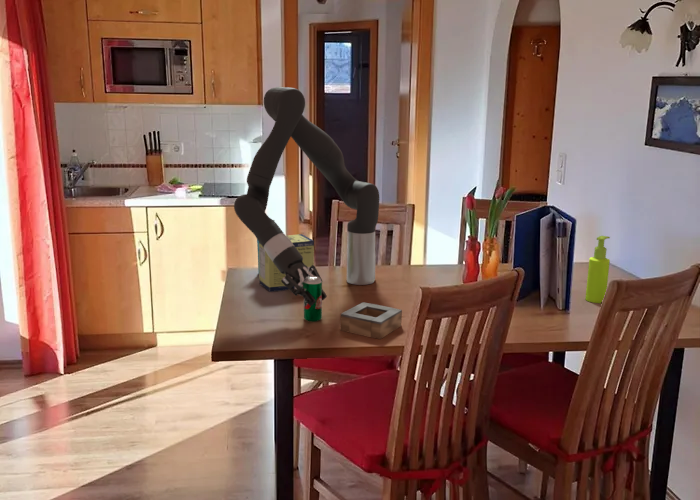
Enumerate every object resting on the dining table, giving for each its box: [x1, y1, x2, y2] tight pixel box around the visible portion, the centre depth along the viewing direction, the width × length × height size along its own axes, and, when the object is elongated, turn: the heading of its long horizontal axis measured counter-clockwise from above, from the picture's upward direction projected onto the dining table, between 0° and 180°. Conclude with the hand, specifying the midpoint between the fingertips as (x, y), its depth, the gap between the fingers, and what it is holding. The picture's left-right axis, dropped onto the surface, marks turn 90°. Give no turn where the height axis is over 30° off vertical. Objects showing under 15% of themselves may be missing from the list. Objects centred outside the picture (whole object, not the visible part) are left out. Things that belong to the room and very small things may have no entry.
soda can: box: [303, 276, 323, 323], centre depth 189 cm, size 5×5×12 cm
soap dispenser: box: [584, 235, 611, 304], centre depth 209 cm, size 6×7×20 cm
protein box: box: [258, 233, 315, 293], centre depth 221 cm, size 10×16×16 cm
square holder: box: [339, 301, 403, 340], centre depth 184 cm, size 12×12×5 cm
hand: (318, 301), depth 188 cm, fingers closed on soda can, 4 cm apart
